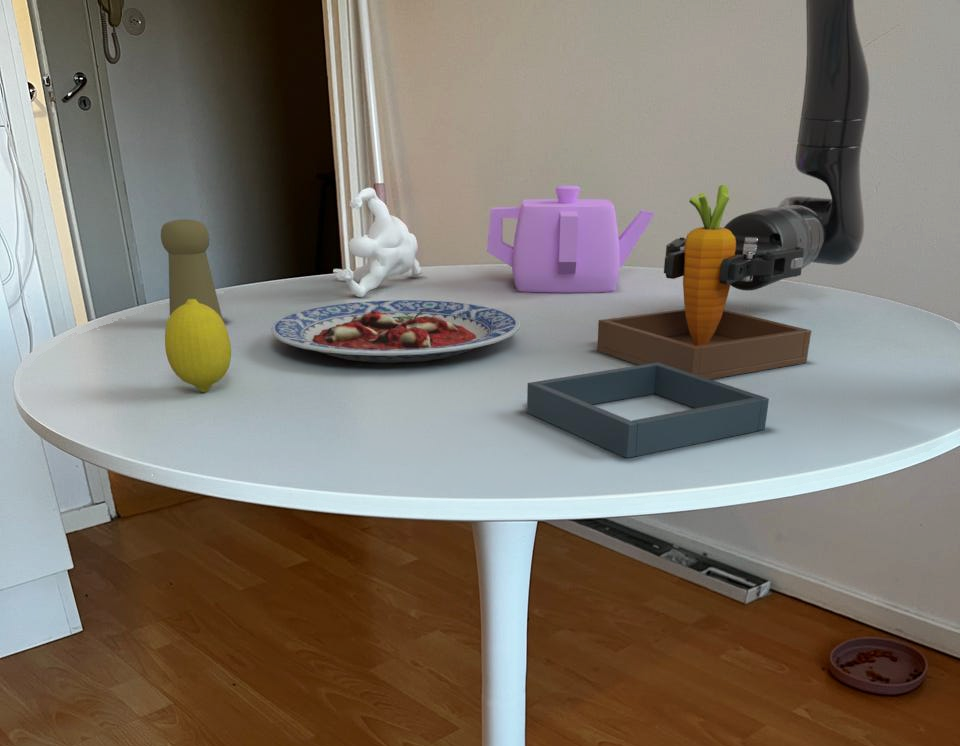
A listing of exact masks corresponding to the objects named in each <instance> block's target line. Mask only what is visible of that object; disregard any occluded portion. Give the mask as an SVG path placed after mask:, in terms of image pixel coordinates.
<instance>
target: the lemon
mask: <svg viewBox="0 0 960 746" xmlns="http://www.w3.org/2000/svg"><path fill="white" fill-rule="evenodd" d="M222 319H223V318H222ZM222 319H221V317H220V316H219V315H218V314H217V313H216V312H215V311H214V310H213V309H212V308H210V307H208V306H206V305H204V304H201V303H199V302H198V301H197V300H196V299H189V300H187V302H186V303H185V304H184V305H181V306H180V307H178V308H177V309H176V310H175V311H174V312H173V313H172V314H171V315H170V314H169V317H168V319H167V321H166V325H165V332H164V349H165V354H166V358H167V362H168V364H169V366H170V368H171V370H172V371H173V373H174V374H175V375H176V376H177V377H178V378H179V379H180V380H181V381H183V382H184V383H186V384H189V385H192V386H194V387H195V388H196V389H197V390H198V391H199V392H200V393H207V392H208V391H209V390H210V389H211V388H212V387H213V385H214V384H216V383H218V382H220V381H221V380H222V379H223V378H224V377H225V376H226V374H227V372H228V370H229V367H230V364H231V361H232V345H231V344H232V343H231V339H230V335H229V332H228V329H227V327H226V324H225V322H224V319H223V320H222Z"/></svg>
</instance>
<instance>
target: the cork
mask: <svg viewBox="0 0 960 746" xmlns="http://www.w3.org/2000/svg"><path fill="white" fill-rule="evenodd" d="M160 242H161V245H162V246H163V249H164V250H165V251H166V252H167V253H168V288H169V289H168V296H169V301H168V302H169V316H170V315H171V314H172V313H173V312H174V311H175V310H176V309H177V308H178V307H180V306H181V305H184V304H185V303H186V302H187V300H189V299H196V300H197V301H198V302H199V303H201V304H204V305H206V306H208V307H210V308H212V309H213V310H214V311H215V312H216V313H217V314H218V315H219V316H220V317H221V319H222V320H223V321H224V319H223V315H222V311H221V307H220V303H219V299H218V295H217V292H216V288H215V284H214V280H213V275H212V271H211V268H210V264H209V260H208V259H209V258H208V256H207V253H206V252H207V250H208V248H209V246H210V234H209V231H208V228H207V226H205V224H204V223H203V222H202V221H198V220H195V219H188V218H187V219H183V218H182V219H175V220H170V221H168V222H165V223H164V224H162V226H161V229H160Z"/></svg>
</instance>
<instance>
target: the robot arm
mask: <svg viewBox="0 0 960 746" xmlns="http://www.w3.org/2000/svg"><path fill="white" fill-rule="evenodd" d="M805 12H806V13H805V16H806V17H805V18H806V59H805V77H804V88H803V98H802V105H801V112H800V118H799V127H798V135H797V143H796V149H795V156H794V157H795V160H794V163H795V168H796V170H797V171H798V172H799V173H801V174H803V175H805V176H807V177H811V178H814V179H816V180H818V181H821V182H822V183H824V184H825V185H826V187H827V189H828V191H829V193H830V196H831V198H825V197H813V196H799V195H798V196H789V197H785V198H783V199H781V201H780V202H779V203H778V205H777V207H767V208H763V209H758V210H755V211H751V212H747V213H743V214H739V215H738V216H736V217H734V218H732V219H731V220H729V221H728V222H727V223H726V224H725V225H724V227H723V228H725V229H728V230H730V231H731V232H732V234H733V235H734V236H735V239H736V249H735V256H731V257H728V258H725V259H723V261H722V264H721V272H720V284H730V287H732V288H734V289H737V290H739V291H747V292H749V291H755V290H759V289H761V288H764V287H767V286H769V285H772V284H775V283H776V282H779V281H781V280H784V279H789V278H794V277H795V278H797V277H799V276H801V275H802V270H803V269H805V268H806V267H808V266H809V265H810V264H811V263H814V264H823V265H831V266H841V265H844V264H846V263H848V262H849V261H850V260H852V258H854V256H855V255H856V254H857V252H858V251H859V249H860V247H861V246H862V242H863V239H864V235H865V215H864V207H863V198H862V187H861V152H862V147H863V142H864V134H865V129H866V123H867V116H868V112H869V111H868V110H869V104H870V75H869V69H868V65H867V60H866V56H865V53H864V48H863V45H862V41H861V38H860V34H859V29H858V24H857V17H856V11H855V0H805ZM685 241H686V237H683V236H681V237H679V238H675V239H674V240H672V241H671V242H669V243H668V244H666V245H665V257H664V262H663V263H664V264H663V266H664V267H663V274H665V278H666V279H672V280H675V279H678V278H681V277H683V271H684V253H685Z"/></svg>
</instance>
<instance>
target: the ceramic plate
mask: <svg viewBox="0 0 960 746" xmlns="http://www.w3.org/2000/svg"><path fill="white" fill-rule="evenodd" d="M520 328H521V321H520V320H519V319H518V318H517V317H516V316H514V315H513V314H512V313H509V312H507V311H504V310H502V309H498V308H494V307H490V306H485V305H480V304H475V303H466V302H458V301H448V300H447V301H446V300H445V301H443V300H424V299H423V300H422V299H421V300H420V299H399V300H397V299H395V300H369V301H358V302H347V303H338V304H332V305H326V306H321V307H320V306H319V307H315V308H310V309H304V310H301V311H297V312H294V313H291V314H288V315H286V316H284V317H281V318H280V319H278V320H277V321H275V322H274V323H272V326H271V328H270V330H271V331H270V332H271V334H272V336H273V337H274V338H275V339H277V340H278V341H280V342H282V343H284V344H286V345H288V346H292V347H296V348H299V349H302V350H306V351H307V350H308V351H313V352H318V353H321V354H325V355H327V356H330V357H332V358H339V359H342V360H343V359H344V360H349V361H352V362H362V363H363V362H364V363H377V364H380V363H381V364H391V363H392V364H397V363H398V364H400V363H416V362H417V363H418V362H428V361H433V360H441V359H447V358H451V357H455V356H458V355H462V354H464V353H467V352H469V351H471V350H473V349H476V348H481V347H484V346H489V345H493V344H496V343H499V342H502V341H504V340H506V339H509V338H511V337H512V336H514V335H515V334H517V332H519V330H520Z"/></svg>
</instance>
